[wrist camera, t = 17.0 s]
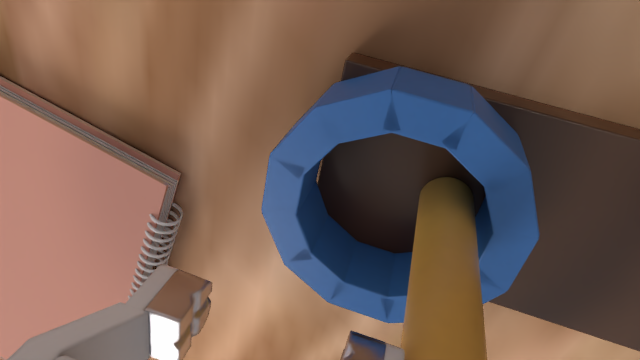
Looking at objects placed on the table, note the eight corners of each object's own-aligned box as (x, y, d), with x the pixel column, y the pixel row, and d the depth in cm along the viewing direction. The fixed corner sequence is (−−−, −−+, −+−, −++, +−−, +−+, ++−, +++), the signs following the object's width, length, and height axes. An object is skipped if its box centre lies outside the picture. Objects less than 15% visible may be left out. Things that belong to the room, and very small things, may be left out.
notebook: (126, 401, 40) (111, 422, 38) (-36, 314, 40) (-58, 330, 38) (199, 180, 25) (181, 198, 23) (-56, 42, 25) (-93, 50, 23)
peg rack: (311, 225, 25) (220, 414, 15) (352, 51, 19) (251, 167, 10) (811, 387, 21) (1111, 763, 12) (1021, 231, 16) (1887, 677, 6)
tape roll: (273, 237, 24) (250, 276, 21) (308, 40, 18) (283, 58, 15) (469, 302, 22) (471, 352, 20) (572, 111, 17) (595, 145, 14)
